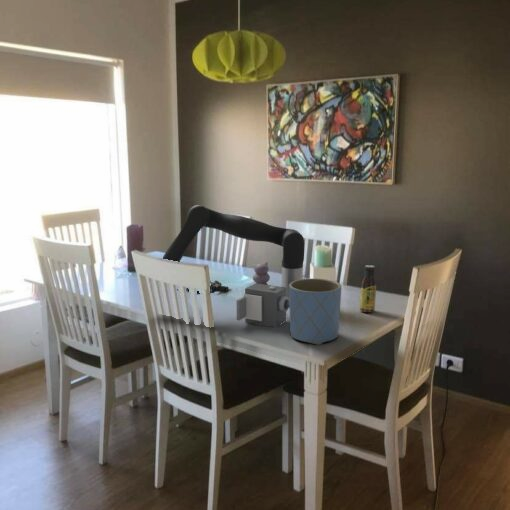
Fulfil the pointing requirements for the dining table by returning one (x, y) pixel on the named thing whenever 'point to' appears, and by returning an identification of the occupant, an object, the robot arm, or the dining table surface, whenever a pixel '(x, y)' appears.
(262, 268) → the cat figurine
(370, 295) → the sauce bottle
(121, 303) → the dining table surface
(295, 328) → the planter
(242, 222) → the robot arm
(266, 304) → the camera housing
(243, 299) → the side door
